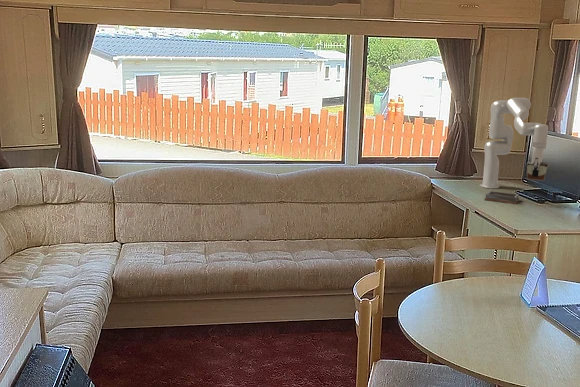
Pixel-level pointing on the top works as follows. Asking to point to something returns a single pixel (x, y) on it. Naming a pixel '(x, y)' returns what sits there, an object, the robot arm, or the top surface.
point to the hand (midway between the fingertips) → (535, 175)
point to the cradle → (502, 197)
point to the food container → (541, 172)
